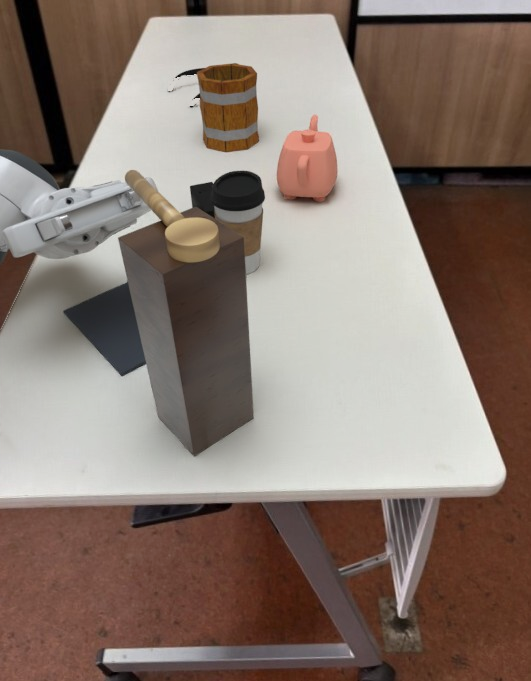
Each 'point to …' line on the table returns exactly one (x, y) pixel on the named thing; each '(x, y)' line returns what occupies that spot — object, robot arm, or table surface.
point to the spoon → (177, 224)
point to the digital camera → (202, 197)
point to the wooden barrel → (229, 106)
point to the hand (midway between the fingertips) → (102, 209)
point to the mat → (111, 327)
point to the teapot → (307, 164)
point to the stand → (193, 332)
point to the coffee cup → (241, 210)
